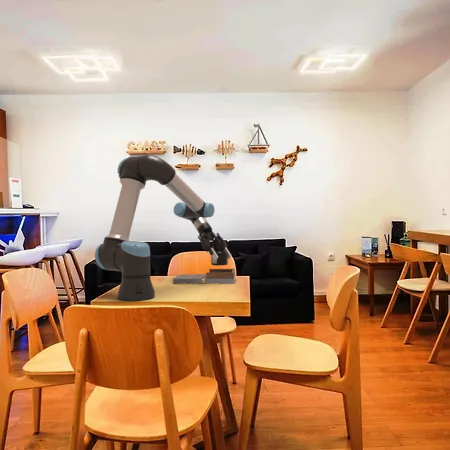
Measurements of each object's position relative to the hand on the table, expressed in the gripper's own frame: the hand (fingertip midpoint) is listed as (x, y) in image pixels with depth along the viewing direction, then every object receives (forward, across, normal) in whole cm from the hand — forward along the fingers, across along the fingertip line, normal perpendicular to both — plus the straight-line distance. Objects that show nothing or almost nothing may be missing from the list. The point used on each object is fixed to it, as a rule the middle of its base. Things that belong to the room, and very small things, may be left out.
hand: (223, 258), depth 200 cm
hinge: (+3, +6, -15) cm, 16 cm away
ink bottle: (+1, 0, -5) cm, 5 cm away
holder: (+5, 0, -9) cm, 10 cm away
